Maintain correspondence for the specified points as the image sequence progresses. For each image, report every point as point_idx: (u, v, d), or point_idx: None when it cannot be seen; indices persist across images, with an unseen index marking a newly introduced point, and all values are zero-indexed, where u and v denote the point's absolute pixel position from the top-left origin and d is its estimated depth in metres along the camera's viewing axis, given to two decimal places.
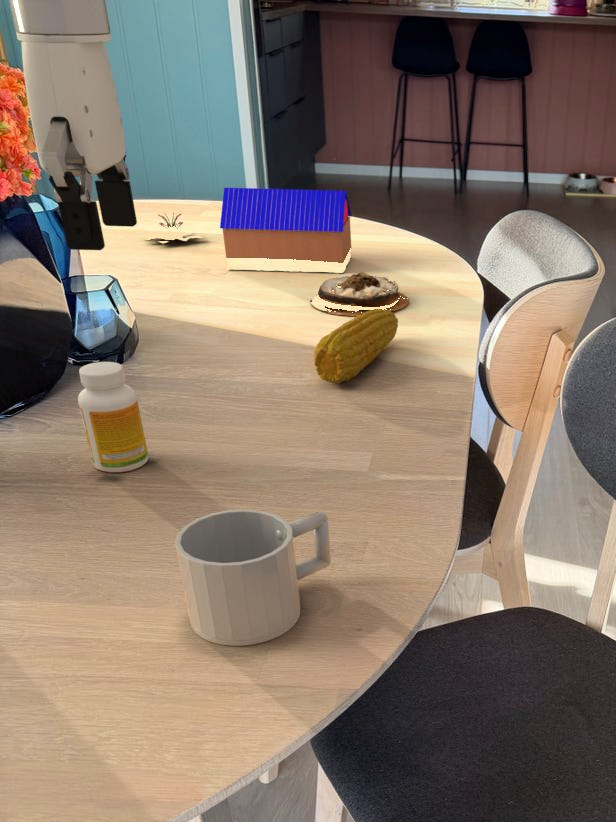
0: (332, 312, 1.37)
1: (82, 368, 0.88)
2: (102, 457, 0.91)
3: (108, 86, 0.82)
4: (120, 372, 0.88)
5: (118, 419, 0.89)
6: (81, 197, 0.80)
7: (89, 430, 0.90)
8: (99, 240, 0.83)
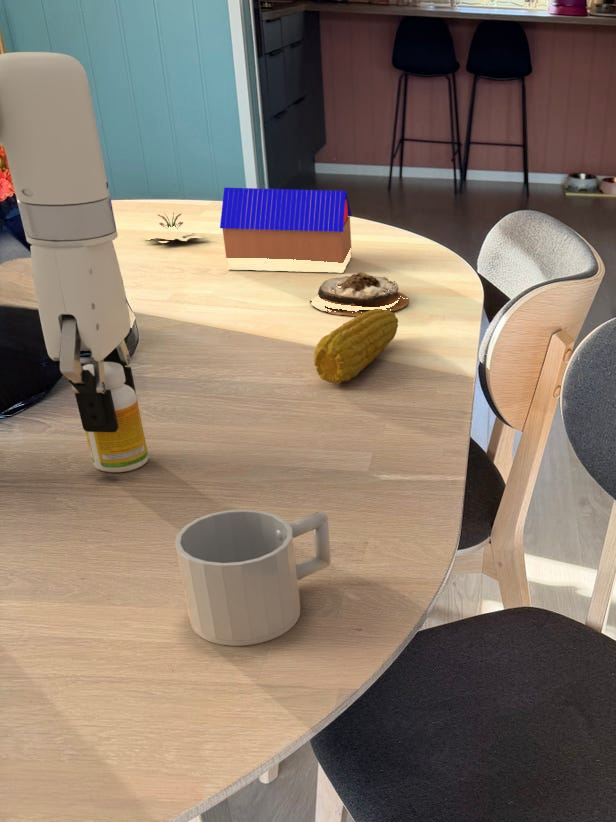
0: (332, 312, 1.37)
1: None
2: (102, 457, 0.91)
3: (114, 275, 0.85)
4: (120, 372, 0.88)
5: (118, 419, 0.89)
6: (97, 389, 0.85)
7: None
8: (113, 424, 0.88)
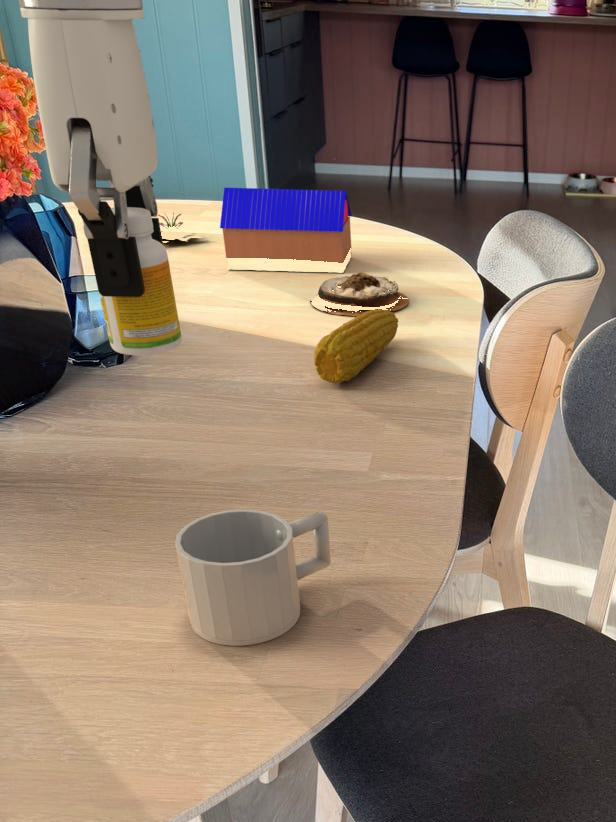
0: (332, 312, 1.37)
1: None
2: (123, 335, 0.70)
3: (139, 78, 0.64)
4: (147, 217, 0.67)
5: (145, 281, 0.68)
6: (118, 232, 0.64)
7: (107, 296, 0.68)
8: (139, 285, 0.67)
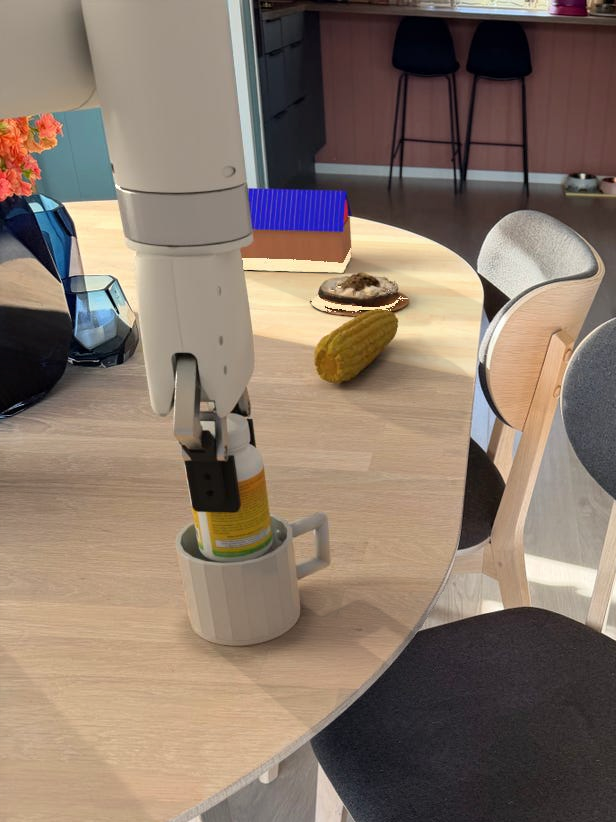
0: (332, 312, 1.37)
1: None
2: (215, 544, 0.66)
3: (242, 294, 0.60)
4: (245, 428, 0.63)
5: (241, 493, 0.64)
6: (218, 456, 0.60)
7: None
8: (236, 502, 0.63)
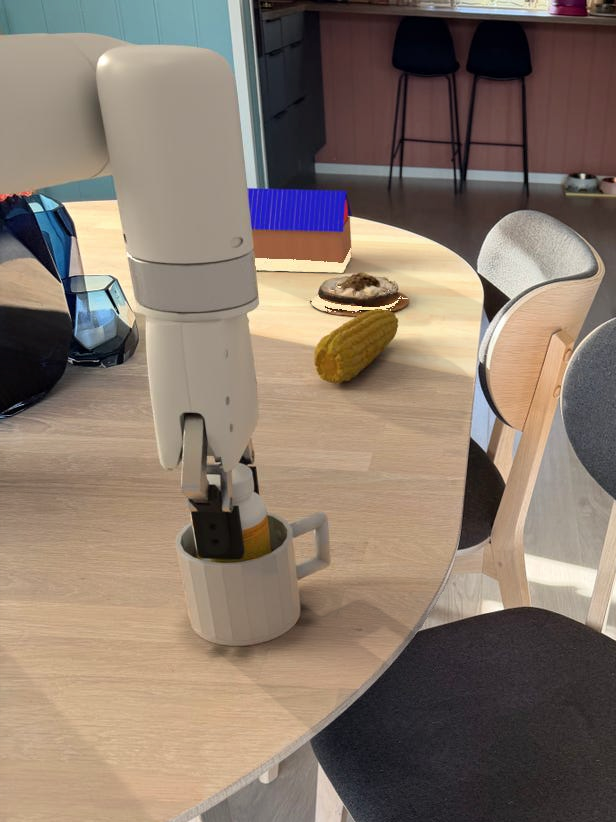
0: (332, 312, 1.37)
1: None
2: None
3: (248, 352, 0.62)
4: (249, 479, 0.65)
5: (245, 541, 0.66)
6: (223, 508, 0.62)
7: None
8: (240, 549, 0.65)
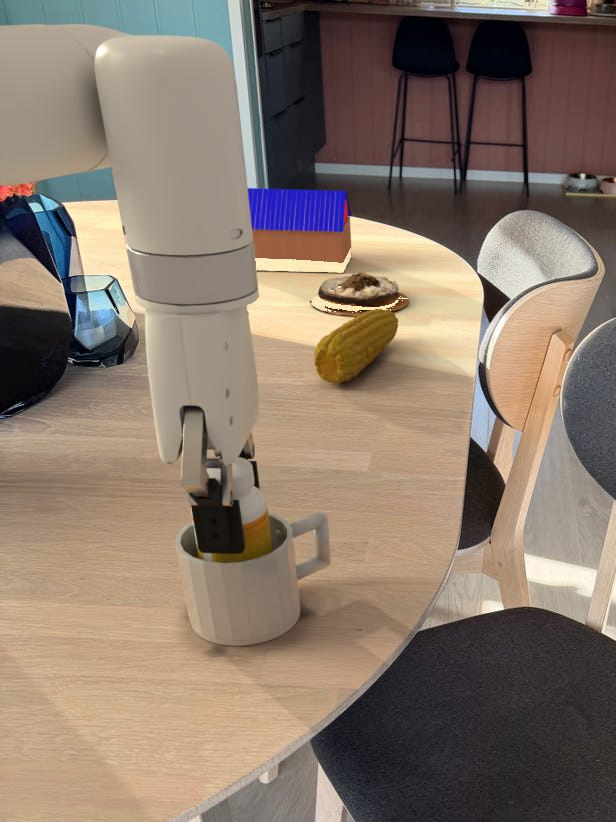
0: (332, 312, 1.37)
1: None
2: None
3: (248, 345, 0.62)
4: (250, 473, 0.65)
5: (246, 535, 0.66)
6: (223, 502, 0.62)
7: None
8: (240, 543, 0.65)
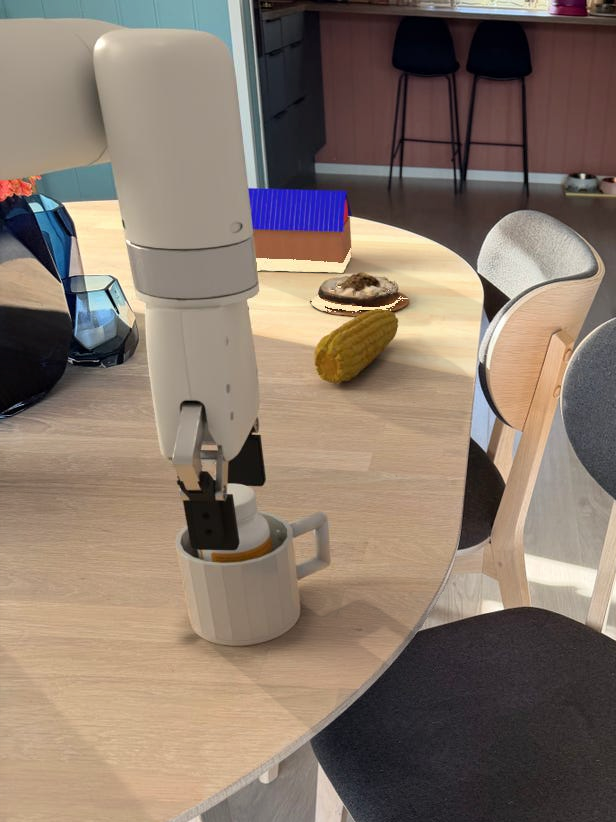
0: (332, 312, 1.37)
1: None
2: None
3: (248, 340, 0.61)
4: (253, 500, 0.67)
5: None
6: (216, 496, 0.60)
7: None
8: (234, 540, 0.63)
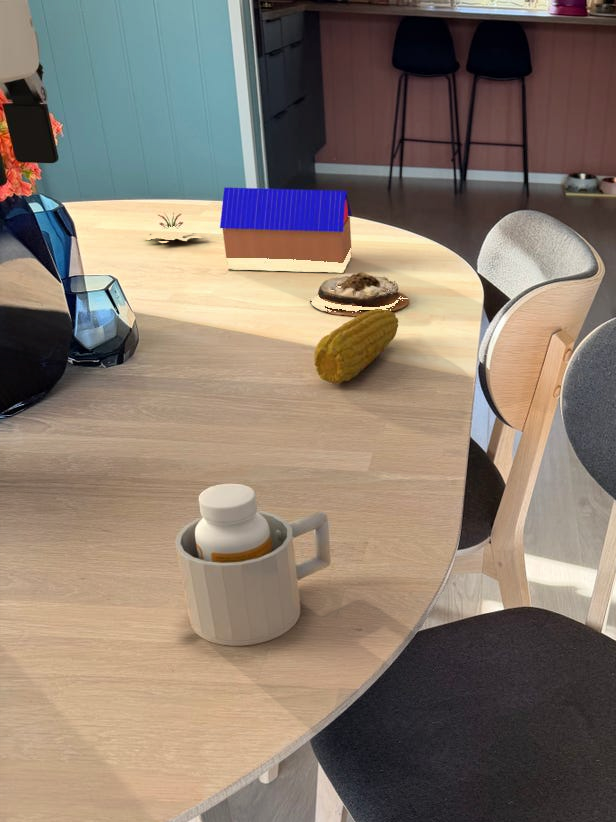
0: (332, 312, 1.37)
1: (202, 495, 0.67)
2: None
3: None
4: (253, 500, 0.67)
5: None
6: None
7: None
8: None
